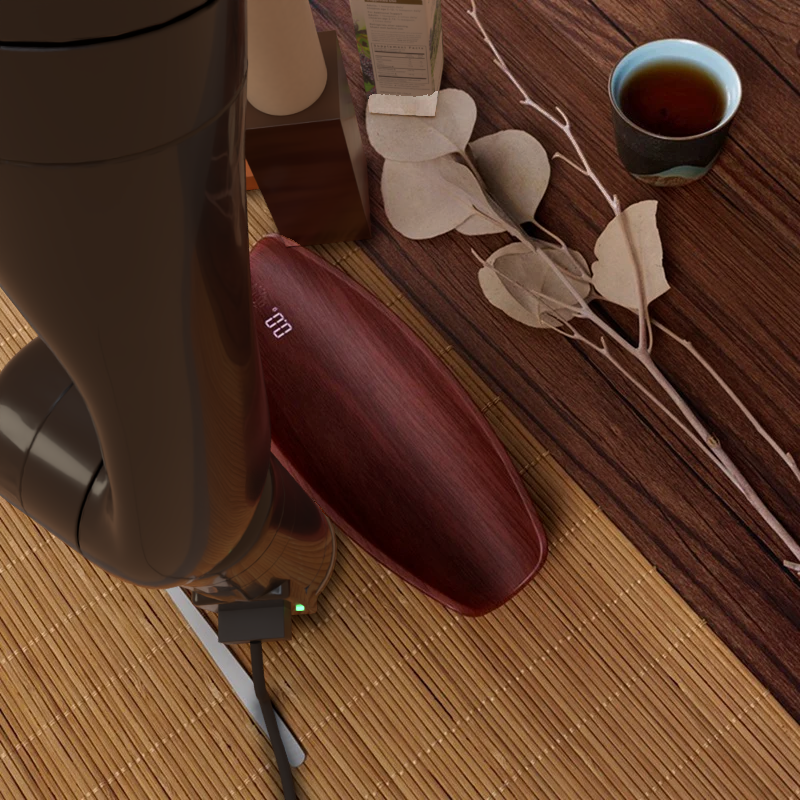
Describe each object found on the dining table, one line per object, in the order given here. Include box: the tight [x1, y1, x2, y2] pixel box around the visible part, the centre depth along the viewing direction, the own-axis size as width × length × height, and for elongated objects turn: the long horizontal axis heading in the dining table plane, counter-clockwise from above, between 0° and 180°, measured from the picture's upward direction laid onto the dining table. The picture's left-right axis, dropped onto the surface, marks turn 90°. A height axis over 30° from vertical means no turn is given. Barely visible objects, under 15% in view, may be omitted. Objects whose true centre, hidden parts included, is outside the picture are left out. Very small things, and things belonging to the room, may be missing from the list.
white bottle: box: [247, 0, 327, 116], centre depth 55 cm, size 6×6×12 cm
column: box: [245, 29, 372, 247], centre depth 68 cm, size 7×7×16 cm
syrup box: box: [348, 0, 445, 103], centre depth 71 cm, size 6×6×14 cm
